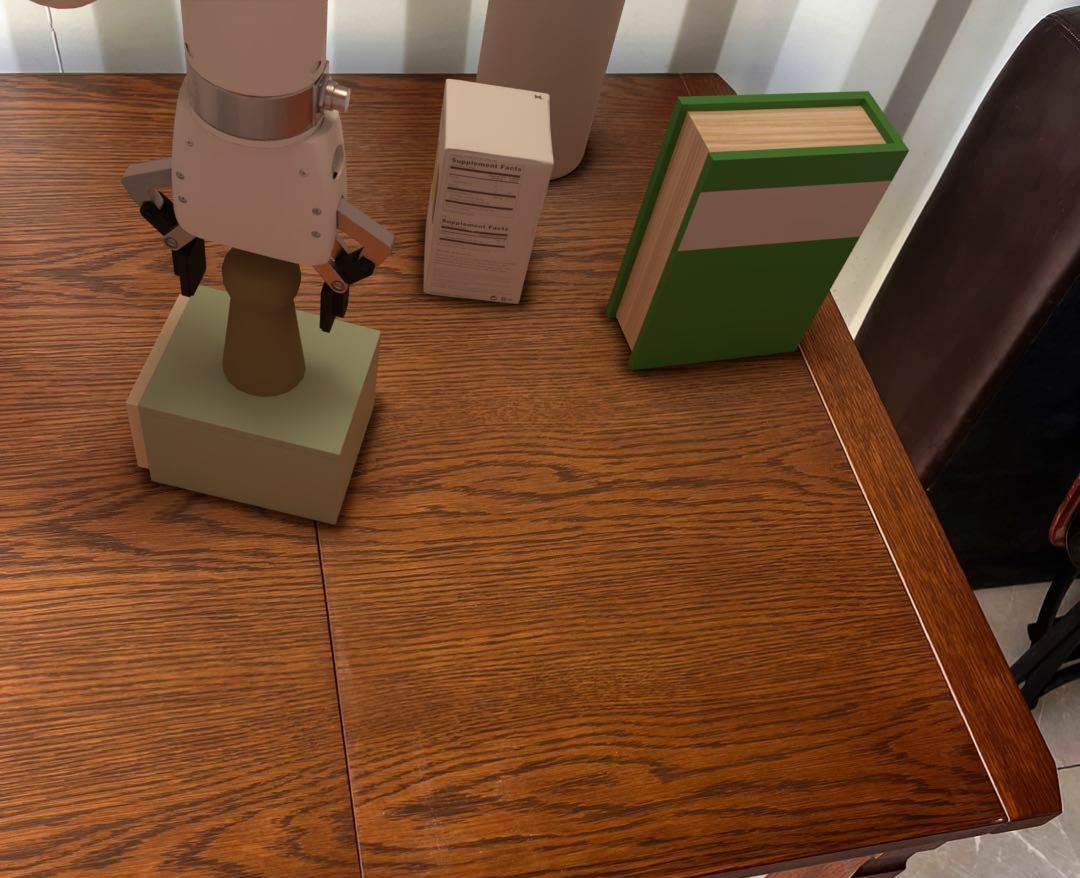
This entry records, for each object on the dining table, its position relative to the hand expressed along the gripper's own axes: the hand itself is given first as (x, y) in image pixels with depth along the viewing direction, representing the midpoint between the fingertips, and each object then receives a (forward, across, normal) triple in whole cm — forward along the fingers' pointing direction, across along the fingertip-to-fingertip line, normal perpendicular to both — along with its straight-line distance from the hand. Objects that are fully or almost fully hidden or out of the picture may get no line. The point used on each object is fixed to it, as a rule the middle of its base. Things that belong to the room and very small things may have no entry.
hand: (262, 300), depth 75 cm
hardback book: (+17, -35, -25) cm, 46 cm away
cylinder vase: (+17, -14, -46) cm, 51 cm away
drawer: (+16, +2, 0) cm, 16 cm away
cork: (+7, 0, 0) cm, 7 cm away
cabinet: (+16, 0, 0) cm, 16 cm away
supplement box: (+17, -12, -26) cm, 33 cm away
